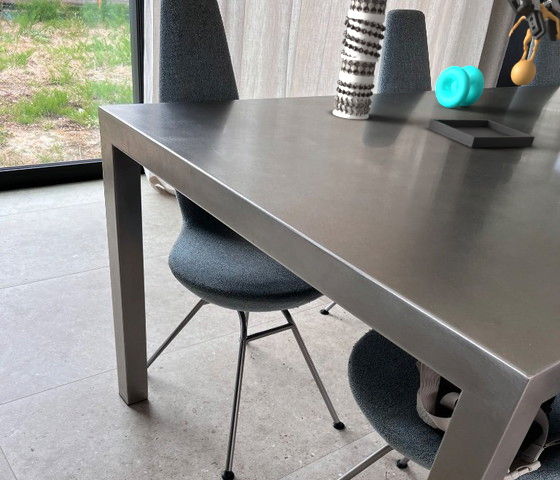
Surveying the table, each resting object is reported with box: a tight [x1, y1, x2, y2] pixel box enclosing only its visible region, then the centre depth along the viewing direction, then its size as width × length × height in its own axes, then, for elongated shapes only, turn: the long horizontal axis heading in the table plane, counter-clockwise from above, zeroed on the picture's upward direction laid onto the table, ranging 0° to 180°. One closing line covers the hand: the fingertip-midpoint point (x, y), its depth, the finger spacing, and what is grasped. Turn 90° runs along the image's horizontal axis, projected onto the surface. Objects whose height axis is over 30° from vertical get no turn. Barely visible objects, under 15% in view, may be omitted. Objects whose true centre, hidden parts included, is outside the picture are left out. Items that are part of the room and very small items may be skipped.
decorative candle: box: [332, 0, 388, 120], centre depth 125 cm, size 9×9×25 cm
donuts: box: [434, 65, 485, 109], centre depth 153 cm, size 10×10×10 cm
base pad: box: [427, 118, 536, 149], centre depth 126 cm, size 17×15×2 cm
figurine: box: [508, 3, 560, 87], centre depth 96 cm, size 8×6×12 cm
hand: (549, 36), depth 94 cm, fingers closed on figurine, 3 cm apart
